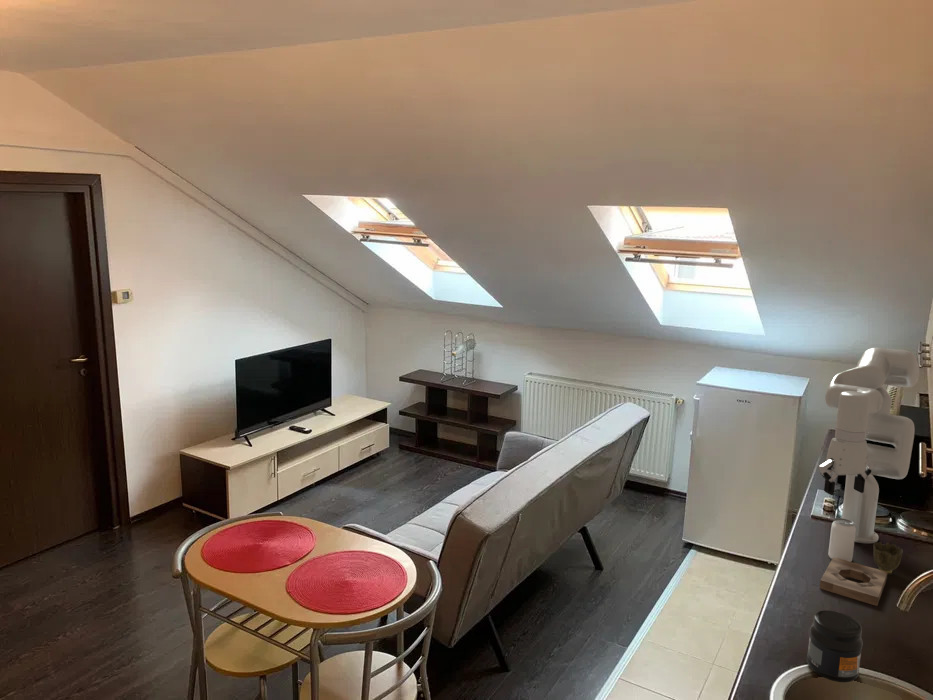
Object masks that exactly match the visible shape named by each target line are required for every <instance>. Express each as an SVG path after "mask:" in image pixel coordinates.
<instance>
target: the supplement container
mask: <svg viewBox="0 0 933 700" xmlns="http://www.w3.org/2000/svg"><path fill="white" fill-rule="evenodd" d="M862 632H863V627H862V625H861V623H860V622H859V621H858V620H857V619H855V618H853V617H852V616H850V615H848V614H846V613H843V612H840V611H836V610H825V609H824V610H820V611H816V612H815V613H814V615H813V622H812V624H811V626H810V627H809V640H808V649H807V654H806V662H807V664H808V666H809V668H810V669H811V670H812V671H813V672H814V673H815V674H817V675H819V676H820V677H822V678H824V679H826V680H829V681H832V682H837V683H850V682H853V681H855V680H856V679H858V677H859V674H860V664H861V657H862V649H863V646H864V642H863V639H862Z"/></svg>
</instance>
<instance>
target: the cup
mask: <svg viewBox="0 0 933 700" xmlns="http://www.w3.org/2000/svg"><path fill="white" fill-rule="evenodd" d="M872 544H873V545H872V546H873V561H874V563H875V565H876V566H877V569H878V570H882V571H886V572H888V573H887V576H888V575H892V574H893V570H896V569H897V568H899V565H900V564H901V561H902V557H903V553H904V550H903V548H900V547H901V546H898V547H897V545H896V544H894V543H893V544H892V543H891V544H890V542H886V543H885V544H882V541H879V542H878V541H877V542H875V543H872Z"/></svg>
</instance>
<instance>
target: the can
mask: <svg viewBox="0 0 933 700" xmlns="http://www.w3.org/2000/svg"><path fill="white" fill-rule="evenodd" d="M854 525H855V523H854V522H852V521H850V520H847V519H843V518H842V517H837V518H834V519H833V522H832V523H831V528H830V534H829V535H830V538H829V544H828V545H829V546H828V557H829V559H830V560H832V558H833V557H835V558H839V559H842V560H846V561H849V562H852V561H853V557H854V548H855V542H854V541H855V533H856V528H855V526H854Z"/></svg>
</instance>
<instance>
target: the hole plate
mask: <svg viewBox="0 0 933 700" xmlns="http://www.w3.org/2000/svg"><path fill="white" fill-rule="evenodd" d="M830 560H831V561H829V564H828V566H827V568H826V570H824V571H825V572H824V573H823V575H822V577H821V578H820V580H819V581H820V582H819V589H821V590H824V591H827V592H829V593H830V592H831V593H833V594H835V595H836V594H837V595H838V596H839V595H840V596H842V597H846V598H849V599H852V600H856V601H859V602H863V603H865V604H869V605H873V606H876V607H877V606H878V605H879V601H880V599H881V596H882V594H883V591H884V588H885V586H886V582H887V579H888V575H887V573H888V572H886V571H882V570H878V568H874V567H871V566H868V565H867V566H866V565H864V564H860V563H856V562H852V561H851V562H849V561H846V560H842V559H839V558H835V557H833V558H832V559H830ZM847 578H851V579H854V580H858V581H861V582H856V581H853V580H849V579H847Z"/></svg>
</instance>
